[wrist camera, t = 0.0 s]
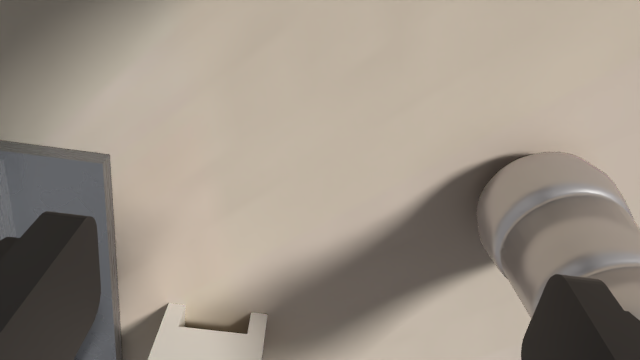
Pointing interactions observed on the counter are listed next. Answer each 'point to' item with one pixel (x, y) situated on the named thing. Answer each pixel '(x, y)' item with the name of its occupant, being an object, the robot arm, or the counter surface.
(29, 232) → the robot arm
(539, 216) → the plastic bottle
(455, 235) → the counter surface
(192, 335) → the block
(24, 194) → the rail plate
